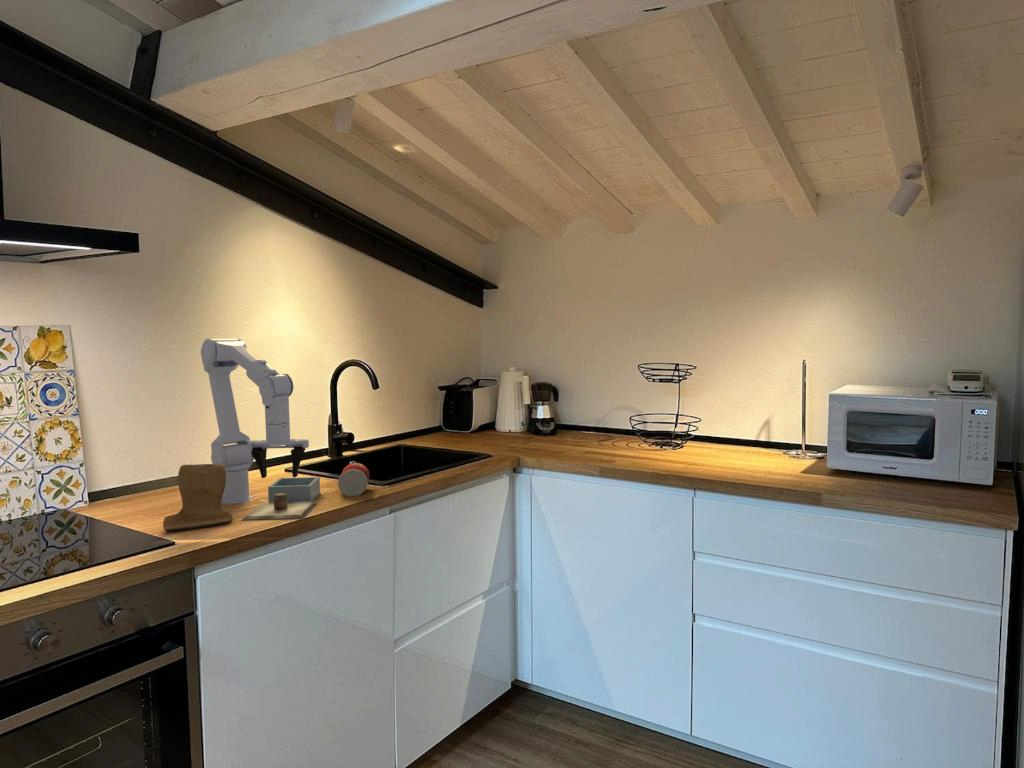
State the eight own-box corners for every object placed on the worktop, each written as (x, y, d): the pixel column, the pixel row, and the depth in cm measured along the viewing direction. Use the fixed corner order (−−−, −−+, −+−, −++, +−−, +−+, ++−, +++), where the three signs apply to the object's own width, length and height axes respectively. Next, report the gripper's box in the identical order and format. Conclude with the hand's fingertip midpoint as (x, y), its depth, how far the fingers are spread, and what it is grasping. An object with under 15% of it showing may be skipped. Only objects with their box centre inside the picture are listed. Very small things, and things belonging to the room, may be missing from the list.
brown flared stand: (227, 515, 172) (225, 456, 170) (235, 526, 161) (233, 463, 160) (159, 524, 164) (156, 462, 163) (164, 537, 154) (160, 471, 152)
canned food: (336, 472, 198) (332, 480, 188) (360, 456, 199) (357, 464, 188) (351, 493, 200) (348, 502, 189) (374, 478, 200) (372, 486, 189)
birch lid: (246, 519, 166) (245, 501, 165) (262, 505, 179) (261, 489, 178) (300, 517, 166) (300, 500, 166) (313, 504, 179) (312, 488, 179)
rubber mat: (240, 522, 165) (240, 520, 165) (259, 506, 180) (259, 504, 180) (304, 520, 166) (303, 518, 166) (317, 505, 180) (317, 503, 180)
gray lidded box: (268, 505, 181) (268, 486, 180) (280, 495, 192) (279, 477, 191) (311, 504, 181) (310, 485, 181) (320, 494, 192) (319, 477, 192)
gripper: (242, 425, 166) (244, 481, 167) (303, 424, 167) (305, 479, 168) (251, 422, 173) (254, 474, 174) (310, 420, 174) (311, 473, 175)
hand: (279, 476), depth 172 cm, fingers open, 7 cm apart
